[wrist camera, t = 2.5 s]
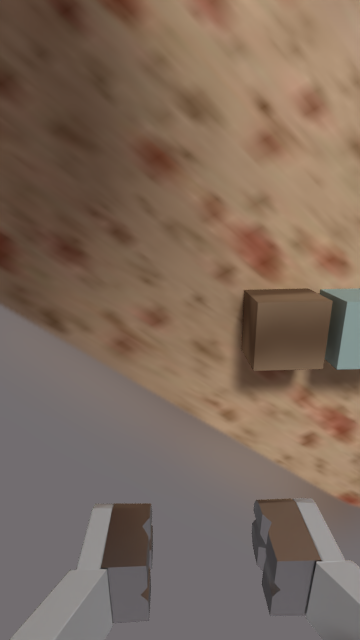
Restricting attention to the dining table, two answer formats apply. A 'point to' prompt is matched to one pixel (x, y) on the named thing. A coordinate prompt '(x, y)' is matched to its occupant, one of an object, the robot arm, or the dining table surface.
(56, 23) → the dining table surface
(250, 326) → the brown block
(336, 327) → the pale blue cube
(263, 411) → the dining table surface
